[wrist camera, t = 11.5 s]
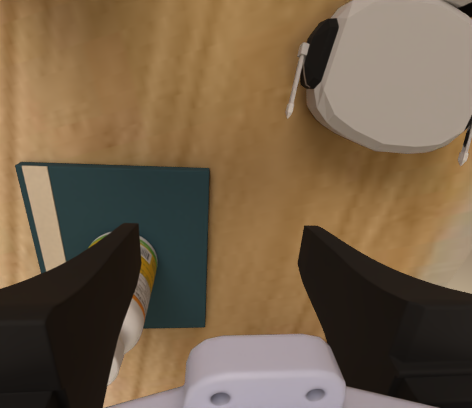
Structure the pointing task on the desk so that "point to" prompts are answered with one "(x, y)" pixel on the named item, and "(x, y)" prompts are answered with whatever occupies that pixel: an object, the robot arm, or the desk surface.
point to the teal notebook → (127, 211)
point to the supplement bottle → (135, 306)
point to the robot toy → (392, 74)
